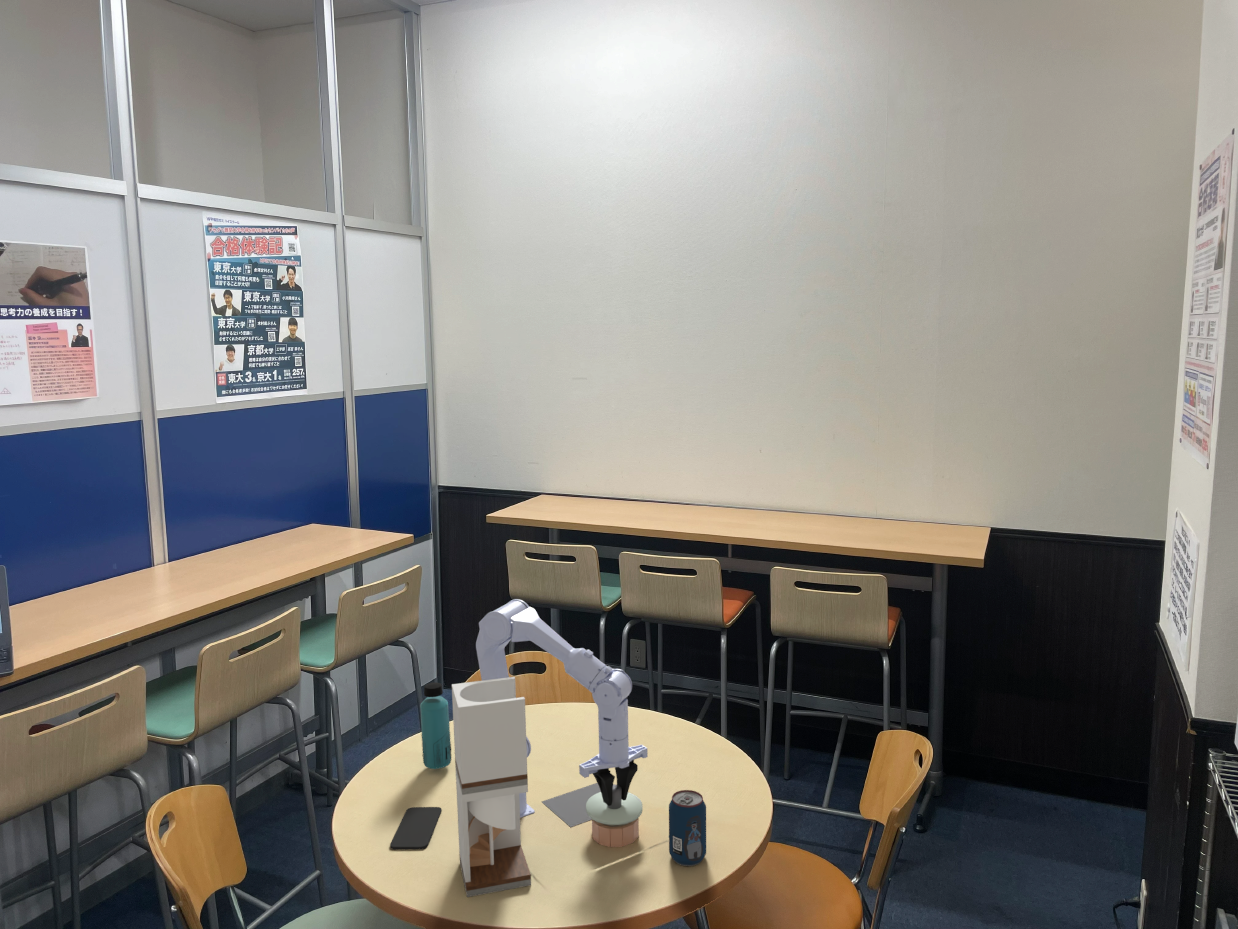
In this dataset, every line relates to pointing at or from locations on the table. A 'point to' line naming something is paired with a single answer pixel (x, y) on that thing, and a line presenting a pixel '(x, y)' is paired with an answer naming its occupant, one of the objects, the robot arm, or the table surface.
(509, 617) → the robot arm
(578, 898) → the table surface
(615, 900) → the table surface
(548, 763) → the table surface
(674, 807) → the soda can
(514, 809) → the coffee maker
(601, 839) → the bowl
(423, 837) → the phone
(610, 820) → the lid
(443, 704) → the beverage bottle
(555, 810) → the mat
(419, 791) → the table surface
